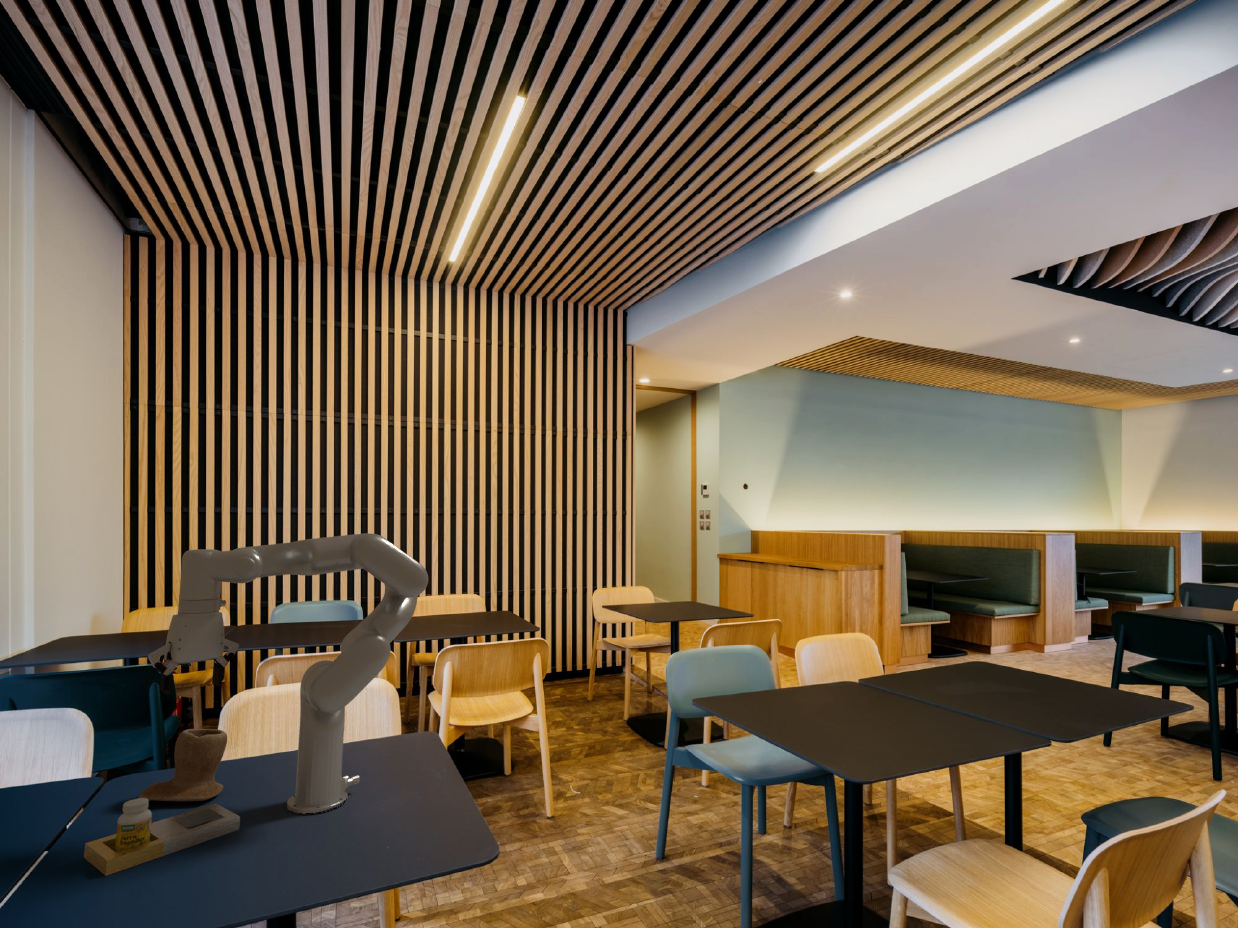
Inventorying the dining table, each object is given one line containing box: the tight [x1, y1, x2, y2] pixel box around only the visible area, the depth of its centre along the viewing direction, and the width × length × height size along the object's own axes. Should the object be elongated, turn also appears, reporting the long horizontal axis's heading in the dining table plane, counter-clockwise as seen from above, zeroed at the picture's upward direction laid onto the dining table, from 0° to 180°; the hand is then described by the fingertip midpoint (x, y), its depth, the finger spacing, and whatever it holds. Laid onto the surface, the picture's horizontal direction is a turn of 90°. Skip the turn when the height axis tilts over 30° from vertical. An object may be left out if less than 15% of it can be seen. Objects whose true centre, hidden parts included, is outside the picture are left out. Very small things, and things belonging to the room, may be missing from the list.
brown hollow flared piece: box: [138, 728, 228, 802], centre depth 154 cm, size 15×12×15 cm
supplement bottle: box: [115, 797, 153, 853], centre depth 127 cm, size 5×5×10 cm
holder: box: [83, 803, 241, 877], centre depth 131 cm, size 23×11×3 cm, turn 145°
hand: (192, 689), depth 139 cm, fingers open, 9 cm apart
